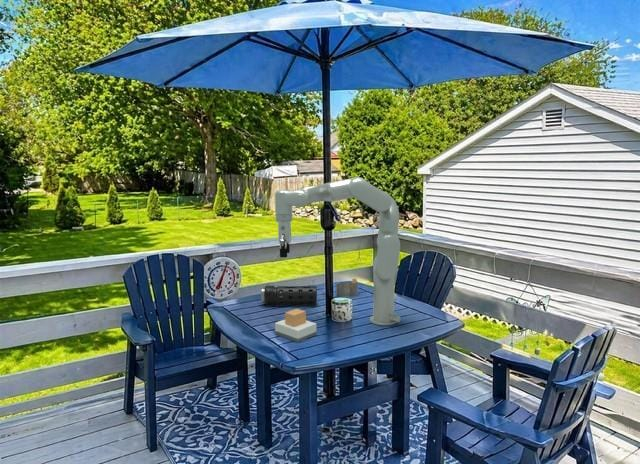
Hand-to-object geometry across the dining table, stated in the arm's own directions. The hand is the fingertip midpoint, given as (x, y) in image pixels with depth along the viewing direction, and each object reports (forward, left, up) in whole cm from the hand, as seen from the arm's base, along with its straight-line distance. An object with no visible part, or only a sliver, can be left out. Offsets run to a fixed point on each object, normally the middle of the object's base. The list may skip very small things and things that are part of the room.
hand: (284, 255), depth 211 cm
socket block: (-15, +9, -31) cm, 36 cm away
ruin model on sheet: (+4, -49, -32) cm, 59 cm away
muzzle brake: (+16, -17, -32) cm, 39 cm away
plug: (-15, +9, -30) cm, 34 cm away
